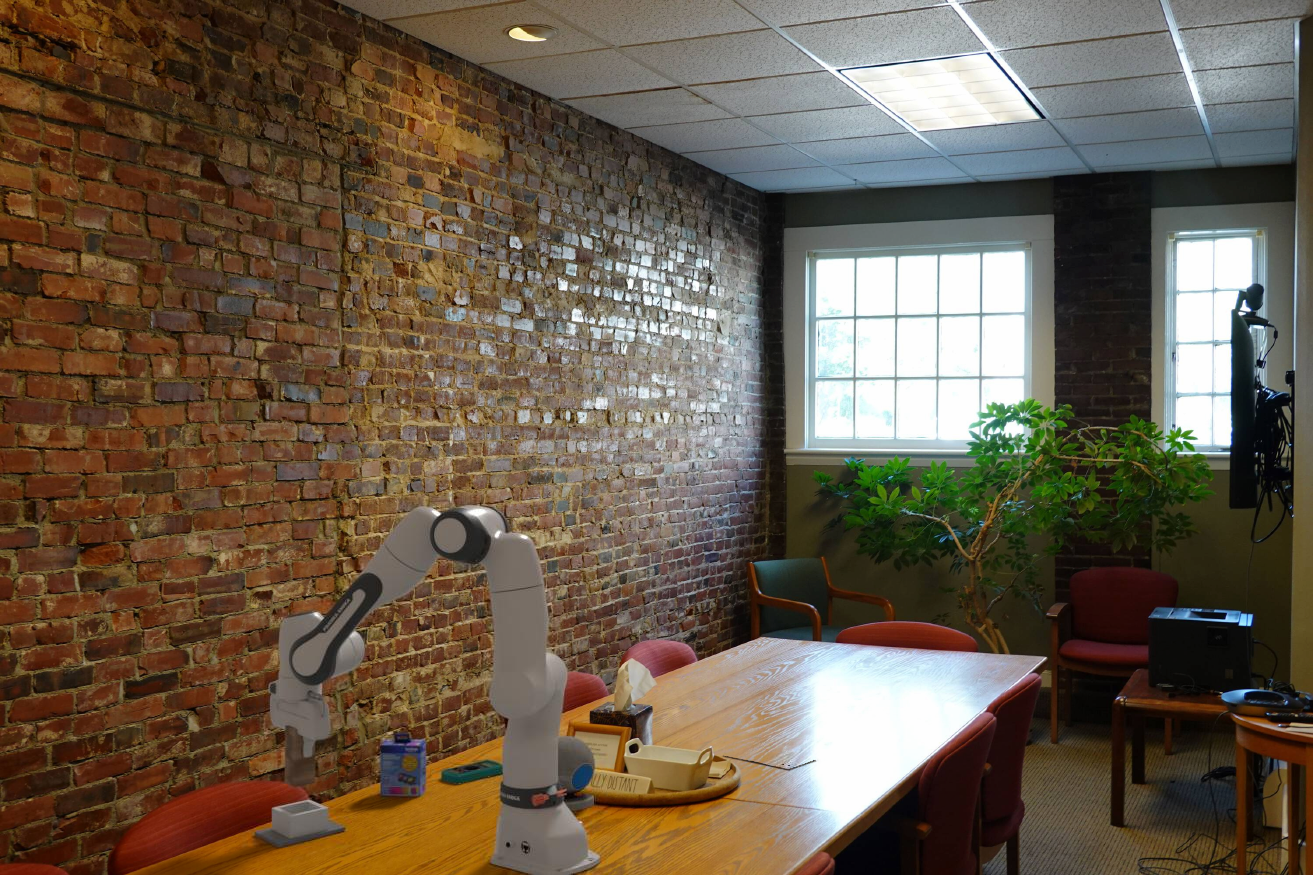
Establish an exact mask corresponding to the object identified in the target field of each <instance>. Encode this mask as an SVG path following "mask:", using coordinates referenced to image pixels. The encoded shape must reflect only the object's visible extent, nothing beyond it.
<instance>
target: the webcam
mask: <svg viewBox="0 0 1313 875" xmlns="http://www.w3.org/2000/svg"><path fill="white" fill-rule="evenodd" d="M595 769H596V762H595V756H594V754H593V752H592V749H591V748H590V747H589V745H588V744H587V743H586V742H584V741H583V740H582V739H580V738H578V737H575V736H572V735H564V736H559V738H558V779H559V780H560V784H561V786H562V790H564V789H567V791H565V792H563V794H567V795H564V803H565V804H566V806H567V807H568V808H569V809H570V811H571V812H572V811H573V812H574V811H579V810H583V809H587V808H589V807H592V806H593V805H595V803H594V796H593V795H590V794H585V793H582V796H577V795H574V794H575V793H577V792H580V791H581V790H583V789H586V787H588V785H589V784H590V782H591V781H592V779H593V776H594V773H595Z"/></svg>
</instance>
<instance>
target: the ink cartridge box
mask: <svg viewBox="0 0 1313 875" xmlns="http://www.w3.org/2000/svg"><path fill="white" fill-rule="evenodd" d="M393 735H394V737H393V739H392V738H391V739H385V740H384V741H383V742H382V743H381V744H380V749H379V750H380V753H379V754H380V755H379V756H380V758H379V759H380V760H379V761H380V765H379V766H380V769H379V770H380V771H379V772H380V789H379V790H380V797H414V798H415V797H418V798H419V797H421V796H422V795H423V794H424V793H425V792H426V791H427V743H426V742H427V740H425V739H411V736H410V733H394V734H393ZM400 737H401V738H400Z"/></svg>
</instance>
